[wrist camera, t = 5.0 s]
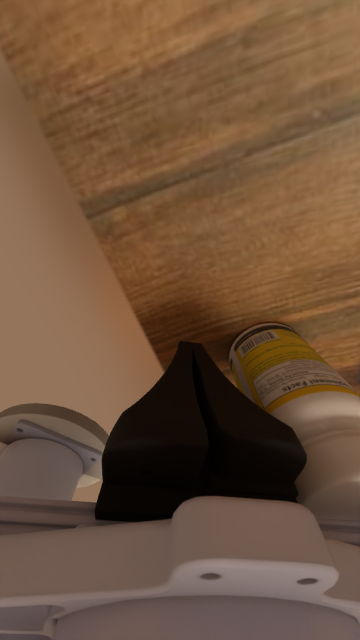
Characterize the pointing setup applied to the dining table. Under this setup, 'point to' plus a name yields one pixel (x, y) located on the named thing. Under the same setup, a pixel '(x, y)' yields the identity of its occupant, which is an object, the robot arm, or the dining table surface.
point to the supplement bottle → (306, 413)
